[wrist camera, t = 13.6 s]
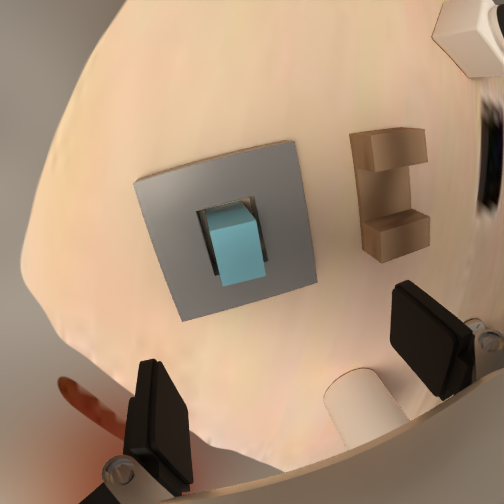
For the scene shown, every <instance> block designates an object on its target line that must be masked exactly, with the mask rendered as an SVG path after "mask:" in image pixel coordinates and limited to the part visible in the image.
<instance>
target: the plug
mask: <svg viewBox="0 0 504 504" xmlns="http://www.w3.org/2000/svg"><path fill="white" fill-rule="evenodd" d="M205 212H206V217H207V222H208V227H209V231H210V236H211V240H212V244H213V248H214V252H215V256H216V261H217V265H218V269H219V273H220V277H221V281H222V285H223V286H227V285H232V284H236V283H240V282H244V281H248V280H252V279H256V278H260V277H264V276H266V273H265V268H264V262H263V256H262V251H261V245H260V239H259V234H258V228H257V223H256V220H255V218H254V217H253V216H252V214H251V213H250V212H249V211H248V209H247V208H246V207H245V205H244V204H243V203H242V202H241V201H238V202H233V203H229V204H225V205H220V206H216V207H212V208H207V209H205Z"/></svg>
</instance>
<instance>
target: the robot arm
mask: <svg viewBox="0 0 504 504" xmlns="http://www.w3.org/2000/svg"><path fill="white" fill-rule="evenodd" d="M390 343H391V345H392V347H393V348H394V349H395V350H396V351H397V352H398V354H399V355H400V356H401V357H402V358H403V359H404V360H405V362H406V363H407V364H408V365H409V366H410V367H411V369H412V370H413V371H414V372H415V373H416V374H417V376H418V377H419V378H420V379H421V380H422V382H423V383H424V384H425V385H426V386H427V387H428V389H429V390H430V391H431V392H432V393H433V395H434V396H436V397H438V396H439V397H440V399H441V400H442V401H444V400H445V399H447V398H449V397H450V396H452V395H454V396H453V397H451V398H449V399H448V400H446V401H444V402H443V403H441V404H439V405H438V406H436V407H435V408H433V409H431V410H429V411H428V412H426V413H424V414H423V415H421V416H419V417H417V418H415V419H414V420H412V421H410V422H408V423H406V424H404V425H402V426H400V427H398V428H396V429H394V430H392V431H390V432H388V433H386V434H384V435H382V436H380V437H378V438H376V439H374V440H372V441H369V442H367V443H365V444H363V445H360V446H358V447H356V448H353V449H351V450H348V451H346V452H343V453H341V454H338V455H336V456H333V457H331V458H328V459H325V460H322V461H320V462H317V463H314V464H311V465H308V466H305V467H302V468H299V469H296V470H292V471H289V472H286V473H282V474H279V475H275V476H272V477H268V478H264V479H260V480H256V481H252V482H247V483H243V484H239V485H234V486H230V487H225V488H220V489H214V490H209V491H204V492H198V493H193V494H188V495H182V492H187V491H190V485H189V484H192V483H193V471H192V460H191V448H190V435H189V419H188V410H187V407H186V404H185V403H184V401H183V399H182V398H181V396H180V394H179V392H178V391H177V389H176V387H175V385H174V384H173V382H172V380H171V378H170V377H169V375H168V373H167V371H166V369H165V367H164V366H163V364H162V362H161V361H158V362H157V361H156V360H155V359H150V360H145V361H141V362H140V364H139V370H138V377H137V384H136V392H135V397H131V398H130V400H129V406H128V414H127V421H126V429H125V438H124V448H123V455H118V456H114V457H112V458H111V459H109V460H108V461H107V462H106V463H105V465H104V467H103V469H102V480H103V483H102V484H101V485H100V486H99V487H98V488H96V489H95V490H94V491H93V492H92V493H91V494H90V495H88V496H87V497H86V498H85V499H84V500H83V501H81V502H80V503H79V504H504V336H503V335H502V334H501V333H500V332H499V331H496V330H491V329H486V330H485V325H484V324H483V323H482V322H481V321H480V320H478V319H473V320H470V321H468V322H466V323H463V322H462V321H461V320H459V319H458V318H457V317H456V316H454V315H453V314H452V313H451V312H450V311H448V310H447V309H446V308H445V307H443V306H442V305H441V304H440V303H438V302H437V301H436V300H434V299H433V298H432V297H431V296H429V295H428V294H427V293H426V292H424V291H423V290H422V289H420V288H419V287H418V286H416V285H415V284H414V283H413V282H411V281H410V280H406V281H403V282H401V283H398V284H396V285H395V289H393V291H392V310H391V329H390Z"/></svg>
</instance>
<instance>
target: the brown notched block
mask: <svg viewBox="0 0 504 504" xmlns="http://www.w3.org/2000/svg"><path fill="white" fill-rule="evenodd" d="M349 136H350V142H351V148H352V155H353V162H354V169H355V177H356V185H357V193H358V202H359V212H360V223H361V235H362V249H363V250H364V251H365V252H367V253H368V254H370V255H371V256H372V257H374V258H375V259H376V260H378V261H379V262H380V263H384V262H387V261H389V260H392V259H395V258H398V257H400V256H403V255H406V254H409V253H411V252H414V251H417V250H419V249H422V248H425V247H427V246H430V217H429V216H427V215H425V214H423V213H420V212H418V211H416V210H413V209H411V196H410V180H409V167H408V166H409V165H415V164H420V163H426V162H428V159H427V148H426V138H425V130H424V129H418V128H402V127H400V128H391V129H383V130H375V131H367V132H360V133H353V134H349Z"/></svg>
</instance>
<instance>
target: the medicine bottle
mask: <svg viewBox="0 0 504 504" xmlns="http://www.w3.org/2000/svg"><path fill="white" fill-rule="evenodd" d="M432 38H433V40H434V41H435V42H436V43H437V44H438V45H439V46H440V47H441V48H442V49H443V50H444V51H445V52H446V53H447V54H448V55H449V56H450V57H451V58H452V59H453V60H454V62H455V63H456V64H457V65H458V66H459V67H460V68H461V70H462V71H463V72H464V73H465V74H466V75H467V77H469V78H470V77H504V4H502V5H495V4H494V2H493V1H492V0H451V1H448V2H445V3H443V6H442V9H441V12H440V15H439V18H438V21H437V24H436V27H435V30H434V32H433V35H432Z"/></svg>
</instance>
